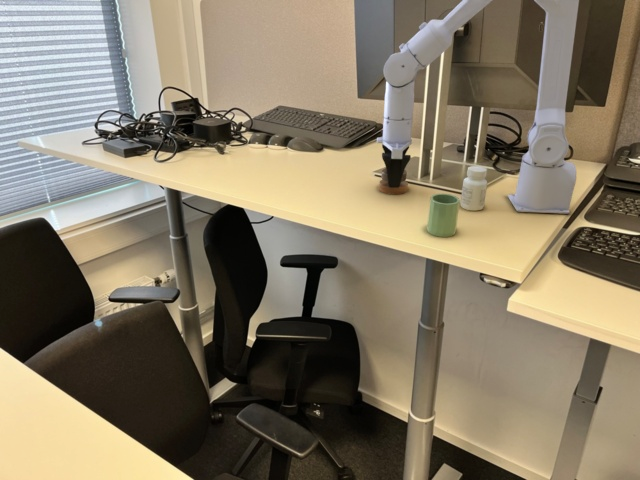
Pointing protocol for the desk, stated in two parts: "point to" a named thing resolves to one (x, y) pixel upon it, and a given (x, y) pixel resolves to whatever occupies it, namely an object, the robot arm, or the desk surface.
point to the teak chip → (393, 190)
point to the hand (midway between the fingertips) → (393, 182)
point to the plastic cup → (443, 215)
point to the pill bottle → (474, 189)
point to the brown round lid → (384, 177)
